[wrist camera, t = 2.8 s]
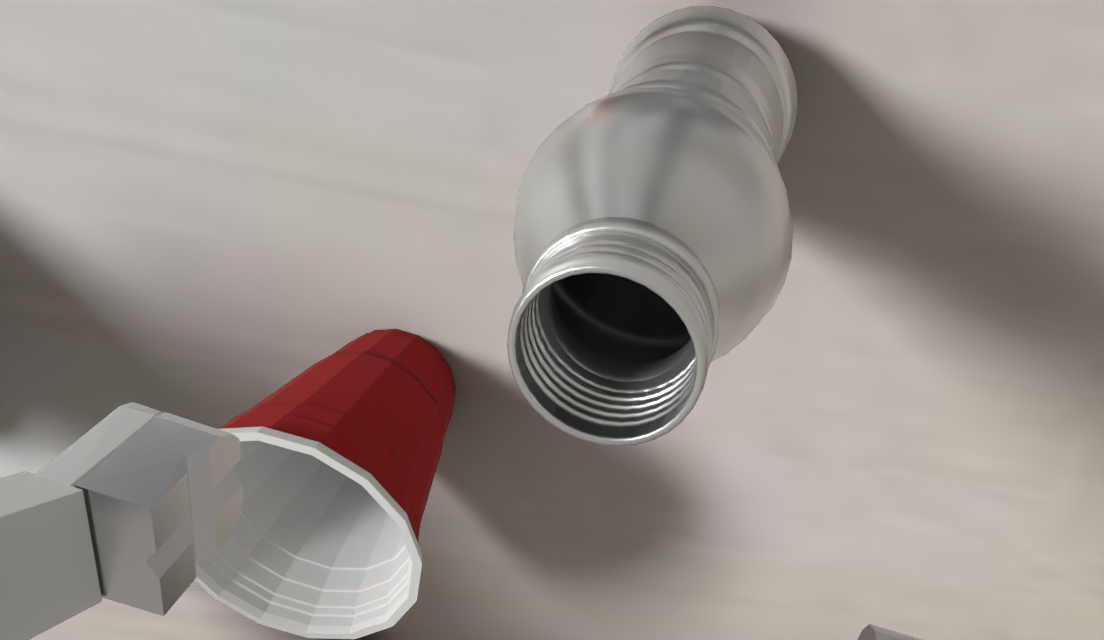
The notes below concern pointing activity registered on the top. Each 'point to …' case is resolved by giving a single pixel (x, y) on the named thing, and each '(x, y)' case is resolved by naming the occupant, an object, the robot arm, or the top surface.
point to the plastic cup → (336, 491)
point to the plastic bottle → (654, 228)
